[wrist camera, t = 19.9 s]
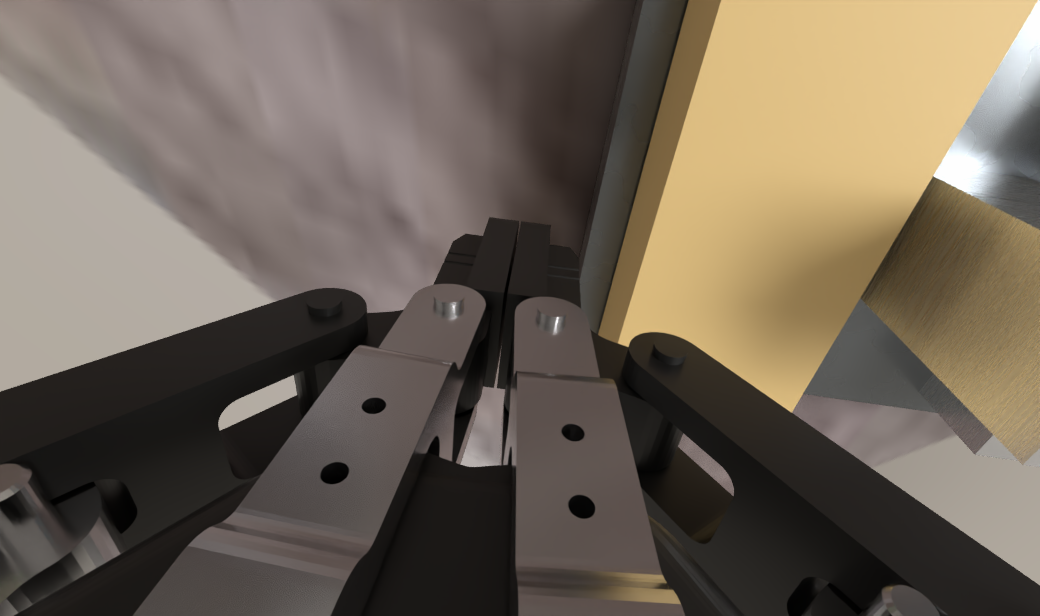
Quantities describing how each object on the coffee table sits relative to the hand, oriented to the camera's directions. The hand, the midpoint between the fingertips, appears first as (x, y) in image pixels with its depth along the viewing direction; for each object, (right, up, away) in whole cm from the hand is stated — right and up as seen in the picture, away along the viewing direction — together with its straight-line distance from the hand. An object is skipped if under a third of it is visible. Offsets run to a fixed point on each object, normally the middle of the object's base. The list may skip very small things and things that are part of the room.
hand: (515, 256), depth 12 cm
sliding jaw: (+8, +2, +5) cm, 10 cm away
